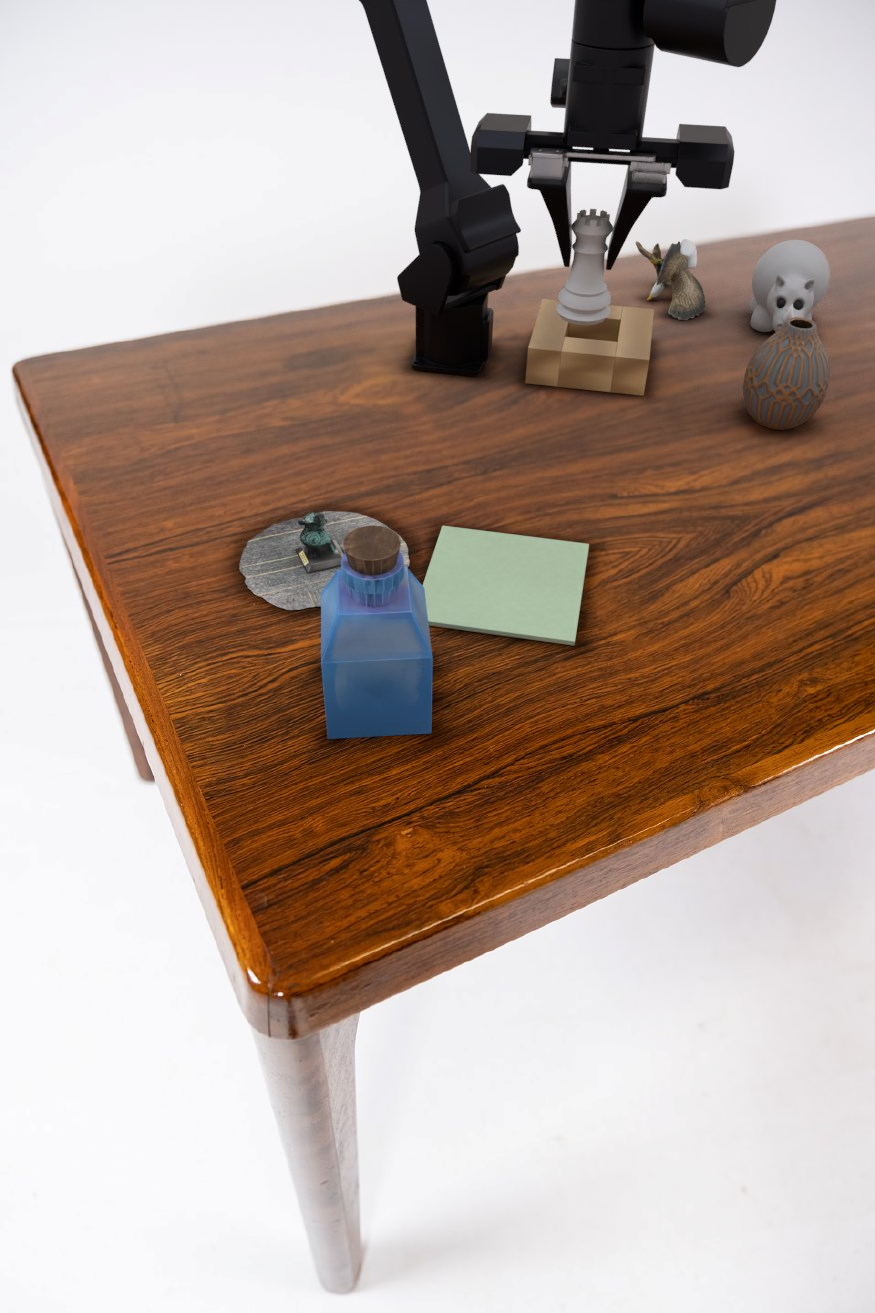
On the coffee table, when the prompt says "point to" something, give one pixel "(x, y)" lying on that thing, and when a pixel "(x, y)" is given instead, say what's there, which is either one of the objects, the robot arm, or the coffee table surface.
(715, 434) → the coffee table surface
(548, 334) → the socket block
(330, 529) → the sculpture
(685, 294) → the eagle figurine
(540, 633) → the mat
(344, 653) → the perfume bottle
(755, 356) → the vase
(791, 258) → the round bodied animal figurine
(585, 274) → the rook chess piece
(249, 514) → the coffee table surface
